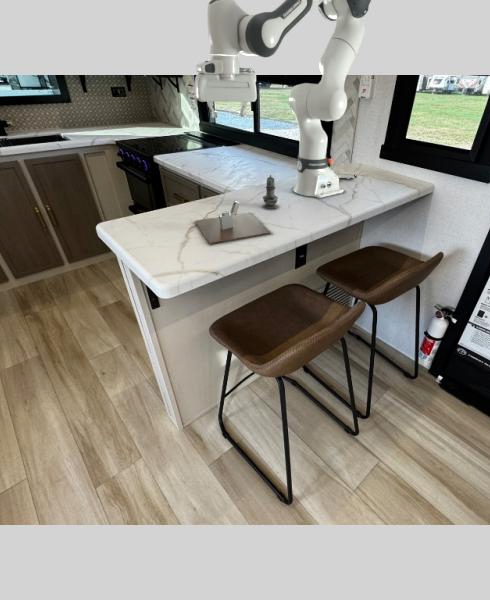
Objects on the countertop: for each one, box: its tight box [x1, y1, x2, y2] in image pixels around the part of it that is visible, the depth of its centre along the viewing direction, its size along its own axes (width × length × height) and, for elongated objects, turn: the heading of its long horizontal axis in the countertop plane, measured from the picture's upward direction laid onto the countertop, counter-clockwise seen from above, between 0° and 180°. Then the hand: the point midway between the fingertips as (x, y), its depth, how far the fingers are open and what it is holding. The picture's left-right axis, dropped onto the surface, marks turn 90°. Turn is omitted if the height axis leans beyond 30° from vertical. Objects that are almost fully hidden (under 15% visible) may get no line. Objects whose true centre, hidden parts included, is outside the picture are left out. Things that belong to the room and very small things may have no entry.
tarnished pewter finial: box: [262, 174, 279, 210], centre depth 118 cm, size 6×6×12 cm
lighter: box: [218, 200, 241, 230], centre depth 102 cm, size 7×2×8 cm, turn 127°
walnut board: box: [194, 212, 271, 246], centre depth 105 cm, size 20×18×1 cm
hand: (228, 117), depth 108 cm, fingers open, 8 cm apart
